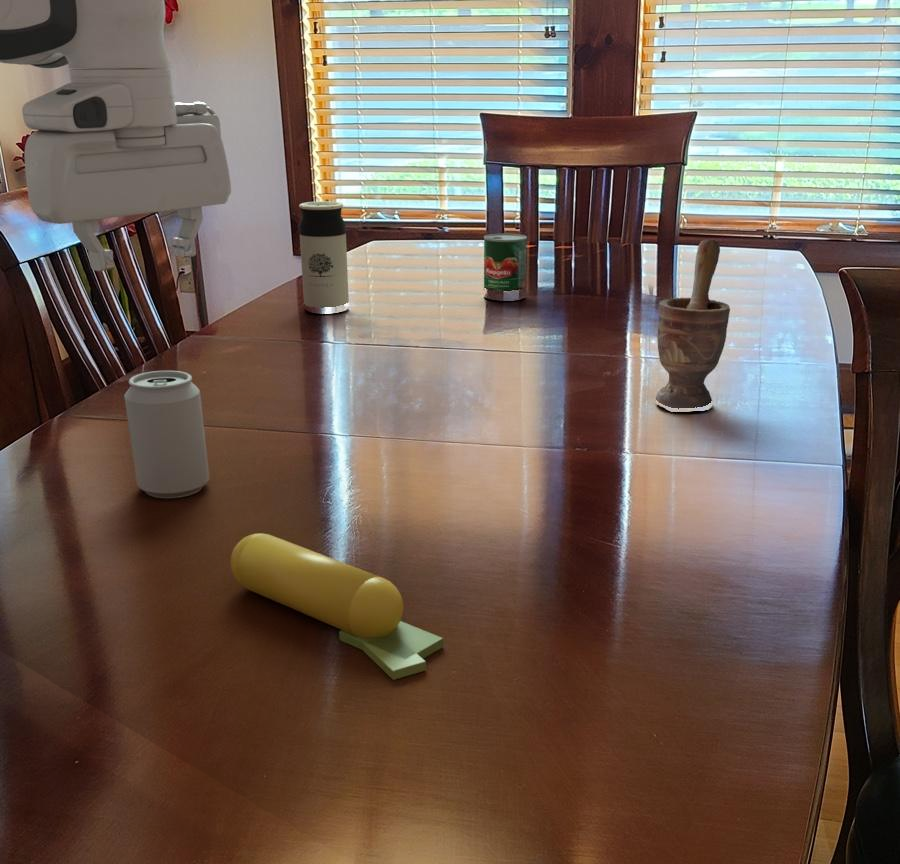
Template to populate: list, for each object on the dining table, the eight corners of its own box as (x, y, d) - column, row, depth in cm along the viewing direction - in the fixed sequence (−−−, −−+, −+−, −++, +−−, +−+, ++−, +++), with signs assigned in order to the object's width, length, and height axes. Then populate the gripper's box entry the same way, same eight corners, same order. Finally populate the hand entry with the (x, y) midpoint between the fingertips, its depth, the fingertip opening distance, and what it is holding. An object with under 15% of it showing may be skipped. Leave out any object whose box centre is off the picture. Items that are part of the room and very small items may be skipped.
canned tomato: (523, 293, 205) (524, 233, 201) (527, 301, 198) (529, 239, 194) (481, 293, 205) (482, 233, 200) (484, 302, 198) (485, 240, 193)
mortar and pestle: (644, 389, 147) (656, 236, 138) (708, 390, 146) (725, 236, 137) (655, 415, 136) (669, 251, 127) (724, 415, 136) (743, 251, 127)
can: (211, 474, 118) (199, 365, 112) (209, 498, 111) (196, 384, 106) (140, 478, 117) (125, 368, 111) (134, 503, 110) (118, 388, 105)
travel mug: (316, 304, 197) (310, 200, 189) (356, 307, 194) (352, 202, 186) (296, 313, 190) (289, 205, 182) (337, 316, 188) (332, 207, 180)
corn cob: (207, 596, 91) (201, 542, 89) (265, 571, 96) (260, 519, 93) (402, 684, 78) (401, 624, 76) (459, 650, 83) (459, 592, 80)
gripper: (195, 100, 106) (210, 246, 112) (3, 107, 92) (32, 273, 98) (237, 101, 102) (250, 252, 109) (44, 109, 88) (71, 282, 95)
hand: (145, 263), depth 103 cm, fingers open, 8 cm apart
